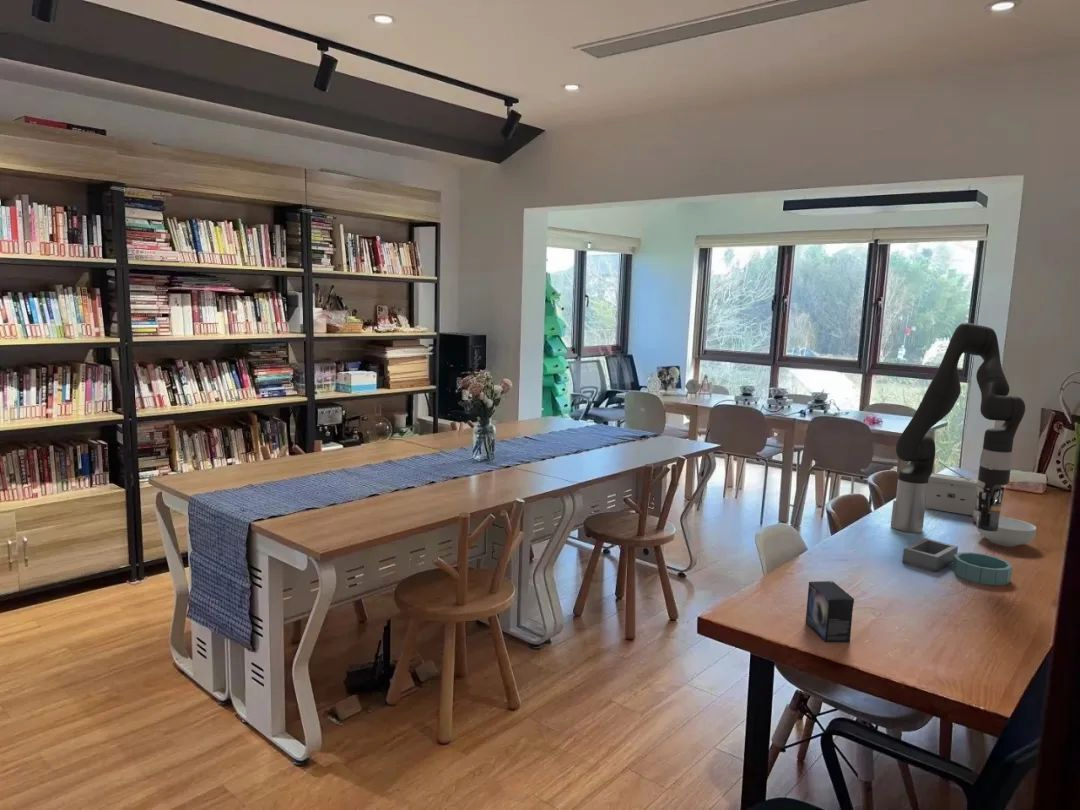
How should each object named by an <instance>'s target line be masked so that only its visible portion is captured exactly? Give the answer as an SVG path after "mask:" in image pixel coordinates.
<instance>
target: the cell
mask: <svg viewBox="0 0 1080 810" xmlns="http://www.w3.org/2000/svg"><path fill="white" fill-rule="evenodd" d="M990 503H991V502H990ZM984 508H986V505H984ZM1001 510H1002V503H1001V504H998V503H995V506H993V507H992V511H991V516H990V524H989V526H988V527H985V526H981V525H980V519H981V512H980V511H979V518H978V526H977V525H976V528H977V527H978V528H979V529H982V530H986V531H998V525H999V517H1001V516H1000V515H1001Z"/></svg>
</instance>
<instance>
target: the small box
mask: <svg viewBox="0 0 1080 810" xmlns="http://www.w3.org/2000/svg"><path fill="white" fill-rule="evenodd" d="M807 590H808V591H807V601H806V614H805V623H806V624H807V625H808V626H809V627H810V628H811V629H812V630H813V632H814V633H816V634H817V636H819V637H820V638H821V640H822V641H823V640H824V641H825V643H850V642H851V634H852V623H853V622H852V621H853V611H854V602H855V599H854V597H852V596H851V595H850V594H849V593H848V592H846V591H845V590H844V589H843V588H841V587H840V586H839V585H838V584H837V583H836V582H834V581H829V580H827V581H821V580H820V581H808V588H807ZM824 641H823V642H824Z"/></svg>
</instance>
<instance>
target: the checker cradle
mask: <svg viewBox="0 0 1080 810" xmlns="http://www.w3.org/2000/svg"><path fill="white" fill-rule="evenodd" d="M958 550H959V546H958V545H953V544H950V543H946V542H941V541H937V540H935V539H929V538H926V537H925V538H923V539H920V540H919V541H916V542H915V543H911V544H910V545H908V546H905V547H904V548H903V552H902V553H903V554H902V564H906V565H910V566H912V567H916V568H919V569H924V570H927V571H931V572H934V573H937V572H939V571H941V570H943V569H944V568H946V567H948V566H949V565H951V564H953V560H954V555H955V554H957V553H958Z"/></svg>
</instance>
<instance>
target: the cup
mask: <svg viewBox="0 0 1080 810" xmlns="http://www.w3.org/2000/svg"><path fill="white" fill-rule="evenodd" d="M951 571H952V572H953V573H954V575H956V576H958V577H960V578H961V579H963V580H966V581H970V582H974V583H977V584H981V585H989V586H1005V585H1006V586H1007V585H1008V584H1010V583H1011V581H1012V575H1013V574H1012V572H1013V565H1012V564H1011V563H1010V562H1009V561H1007V560H1005V559H1003V558H1001V557H997V556H993V555H989V554H985V553H979V552H969V551H966V552H965V551H964V552H957V554H955V555H954V560H953V563H952V570H951Z"/></svg>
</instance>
